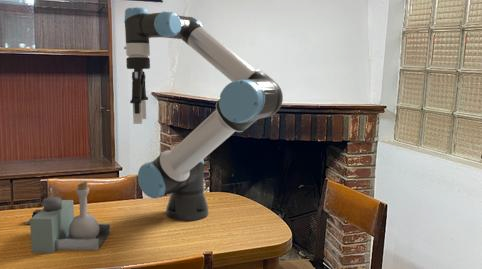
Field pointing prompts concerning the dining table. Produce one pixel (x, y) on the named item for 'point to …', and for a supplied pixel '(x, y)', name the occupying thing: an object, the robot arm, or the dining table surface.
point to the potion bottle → (83, 218)
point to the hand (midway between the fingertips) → (140, 121)
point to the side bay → (84, 240)
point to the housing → (51, 224)
